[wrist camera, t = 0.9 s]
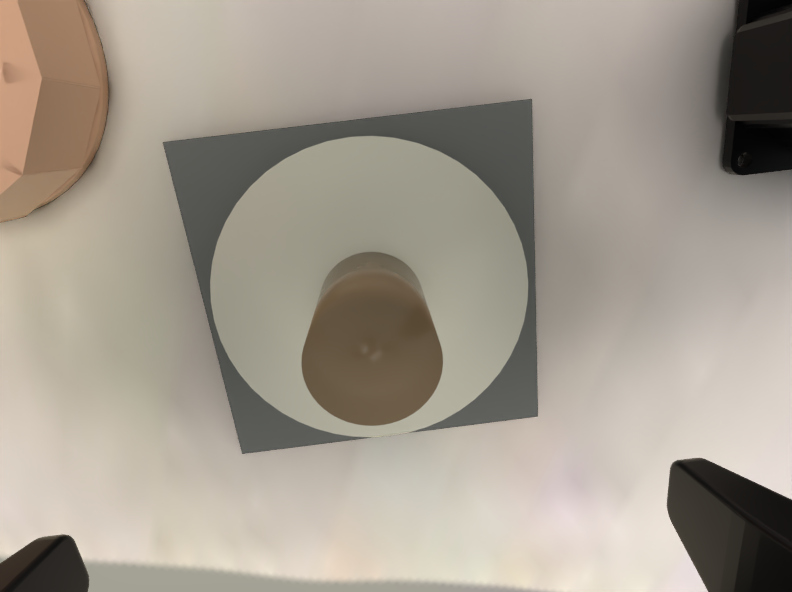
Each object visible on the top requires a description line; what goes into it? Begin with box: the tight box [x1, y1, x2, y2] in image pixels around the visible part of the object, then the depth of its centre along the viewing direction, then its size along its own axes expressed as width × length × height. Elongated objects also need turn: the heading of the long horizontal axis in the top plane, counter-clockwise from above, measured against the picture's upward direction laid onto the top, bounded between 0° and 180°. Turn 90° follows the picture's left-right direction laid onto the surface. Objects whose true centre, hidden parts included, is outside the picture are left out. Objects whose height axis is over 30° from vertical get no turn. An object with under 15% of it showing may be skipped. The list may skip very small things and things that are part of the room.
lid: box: [210, 136, 528, 437], centre depth 15 cm, size 11×11×6 cm
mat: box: [163, 99, 538, 454], centre depth 18 cm, size 12×12×1 cm
